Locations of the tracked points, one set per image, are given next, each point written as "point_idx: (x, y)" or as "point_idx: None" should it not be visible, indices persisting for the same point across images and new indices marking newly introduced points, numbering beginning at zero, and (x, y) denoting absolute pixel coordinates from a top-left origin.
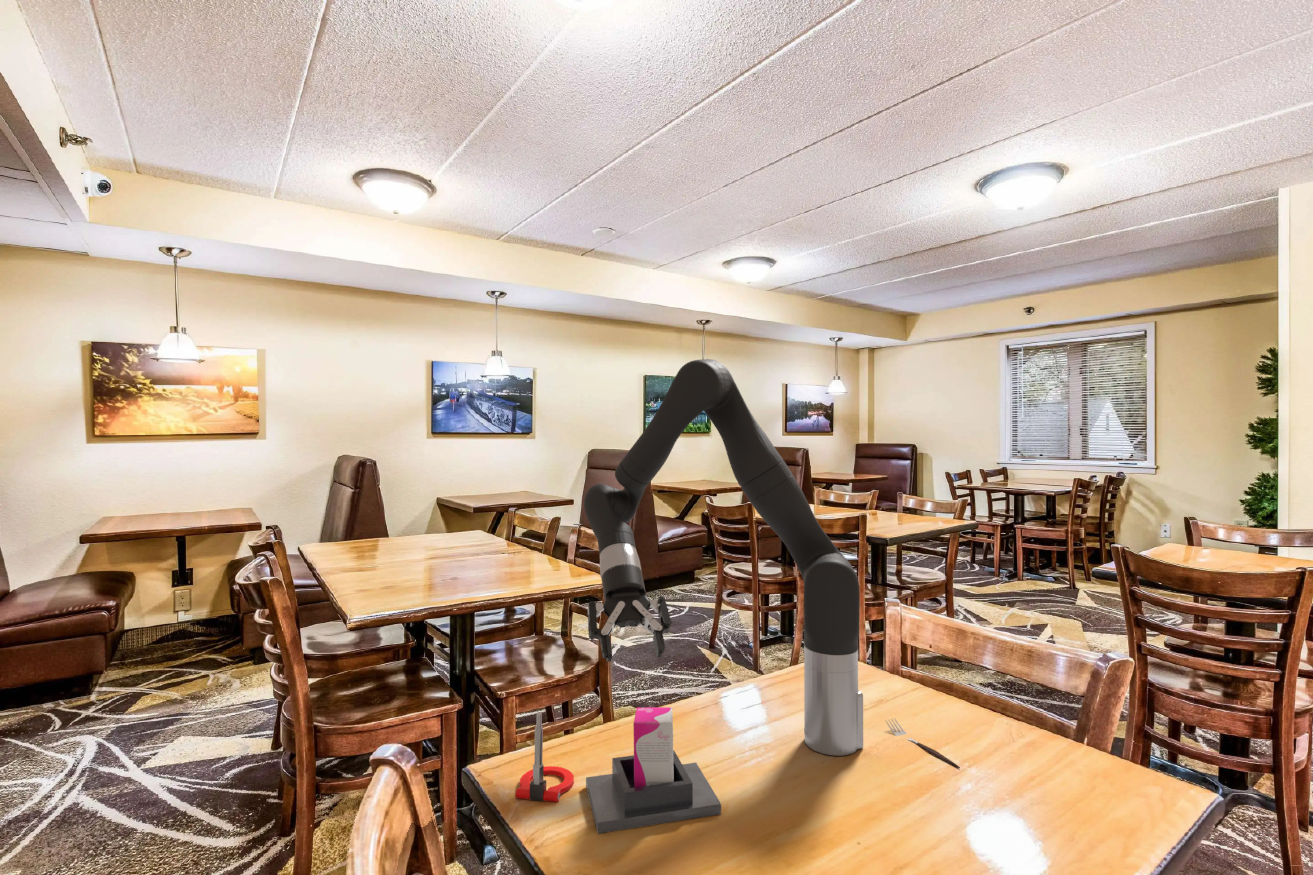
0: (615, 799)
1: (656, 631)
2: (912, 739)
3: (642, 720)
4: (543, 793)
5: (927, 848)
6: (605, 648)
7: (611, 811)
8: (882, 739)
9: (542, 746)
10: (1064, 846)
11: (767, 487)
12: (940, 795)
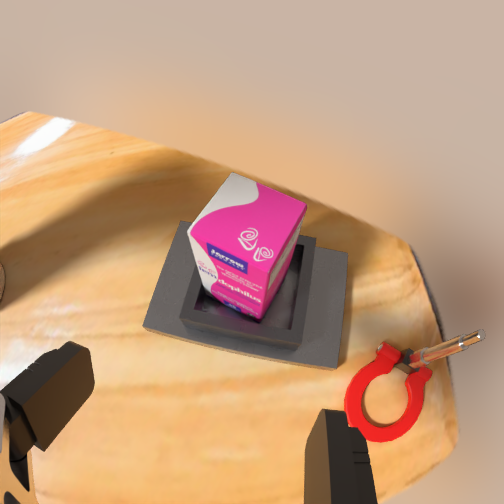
0: (311, 290)
1: (12, 415)
2: None
3: (286, 201)
4: (401, 352)
5: (83, 137)
6: (353, 452)
7: (325, 266)
8: None
9: (438, 347)
10: (34, 125)
11: None
12: (15, 179)
